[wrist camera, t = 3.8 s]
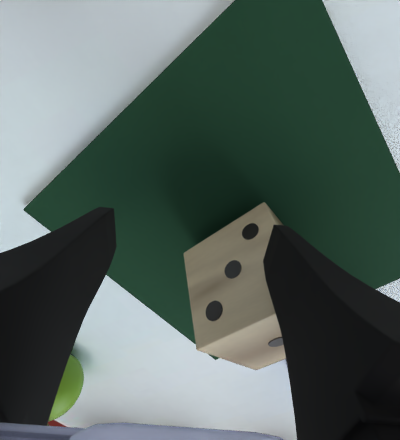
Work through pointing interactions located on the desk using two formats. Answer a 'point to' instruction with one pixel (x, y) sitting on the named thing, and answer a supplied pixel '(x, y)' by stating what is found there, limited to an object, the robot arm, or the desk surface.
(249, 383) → the desk surface
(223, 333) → the die
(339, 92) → the dice mat
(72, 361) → the snail figurine
